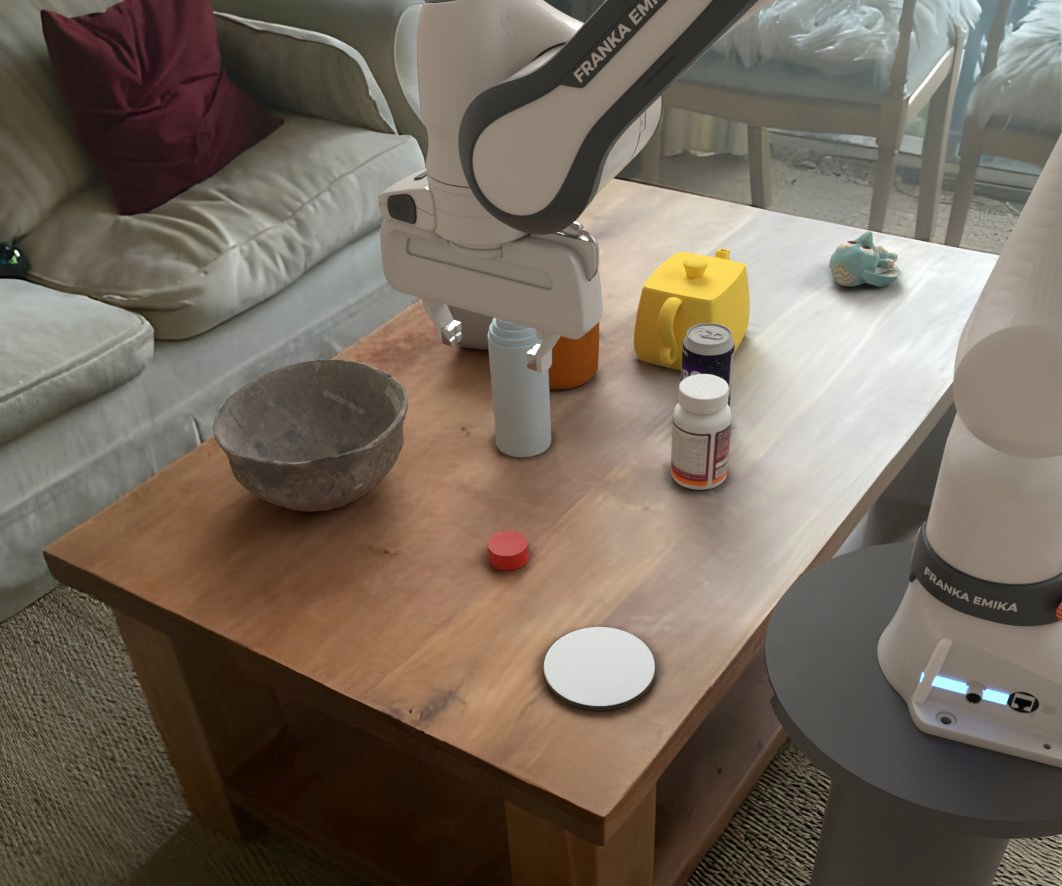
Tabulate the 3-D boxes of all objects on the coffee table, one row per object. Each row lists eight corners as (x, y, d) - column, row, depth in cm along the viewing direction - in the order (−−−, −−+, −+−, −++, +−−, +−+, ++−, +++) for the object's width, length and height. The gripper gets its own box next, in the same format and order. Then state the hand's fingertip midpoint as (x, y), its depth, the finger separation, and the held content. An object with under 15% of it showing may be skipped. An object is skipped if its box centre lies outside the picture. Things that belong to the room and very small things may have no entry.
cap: (527, 543, 113) (526, 529, 111) (529, 569, 110) (528, 554, 108) (488, 546, 113) (487, 532, 111) (489, 572, 110) (488, 557, 108)
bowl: (270, 428, 132) (252, 354, 125) (436, 436, 129) (427, 361, 122) (203, 535, 116) (179, 457, 110) (391, 548, 113) (377, 468, 107)
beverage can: (688, 409, 130) (693, 317, 123) (734, 419, 128) (742, 326, 121) (671, 433, 127) (675, 340, 119) (718, 444, 125) (725, 350, 117)
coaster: (675, 656, 99) (675, 651, 99) (619, 727, 93) (619, 722, 93) (581, 617, 104) (581, 612, 103) (522, 683, 98) (521, 678, 97)
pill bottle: (716, 455, 123) (722, 367, 116) (734, 487, 118) (743, 396, 111) (663, 464, 122) (666, 375, 115) (679, 496, 118) (684, 405, 110)
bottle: (561, 435, 127) (556, 278, 115) (531, 463, 123) (522, 303, 111) (516, 421, 130) (506, 266, 118) (485, 447, 126) (471, 290, 114)
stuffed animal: (931, 237, 151) (881, 247, 144) (916, 287, 155) (866, 300, 148) (866, 215, 157) (815, 224, 150) (853, 264, 161) (803, 275, 154)
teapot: (681, 301, 151) (685, 218, 144) (766, 318, 146) (775, 234, 139) (617, 368, 138) (617, 281, 131) (708, 390, 134) (714, 301, 126)
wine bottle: (515, 391, 135) (499, 146, 116) (529, 352, 143) (516, 114, 123) (594, 396, 134) (591, 147, 114) (604, 355, 141) (603, 115, 121)
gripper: (618, 212, 85) (615, 368, 94) (407, 167, 94) (423, 314, 103) (577, 243, 81) (578, 402, 90) (361, 193, 90) (381, 343, 99)
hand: (494, 355), depth 97 cm, fingers open, 8 cm apart
